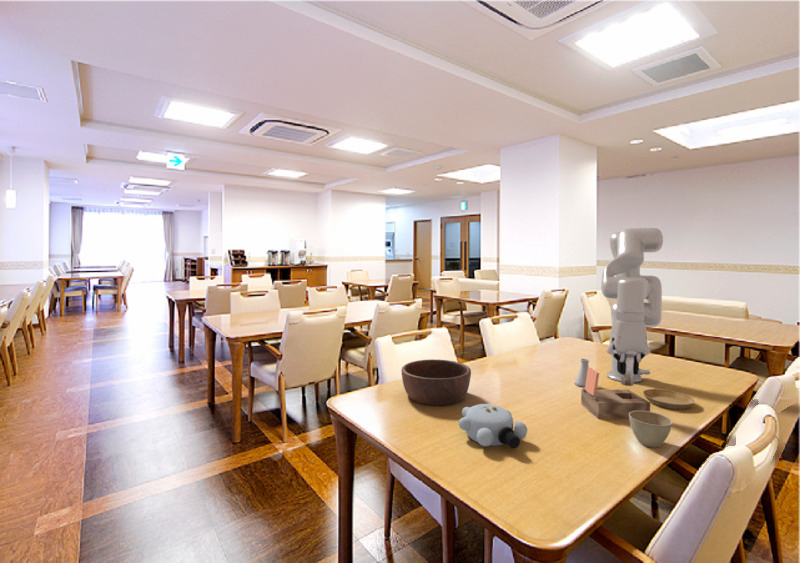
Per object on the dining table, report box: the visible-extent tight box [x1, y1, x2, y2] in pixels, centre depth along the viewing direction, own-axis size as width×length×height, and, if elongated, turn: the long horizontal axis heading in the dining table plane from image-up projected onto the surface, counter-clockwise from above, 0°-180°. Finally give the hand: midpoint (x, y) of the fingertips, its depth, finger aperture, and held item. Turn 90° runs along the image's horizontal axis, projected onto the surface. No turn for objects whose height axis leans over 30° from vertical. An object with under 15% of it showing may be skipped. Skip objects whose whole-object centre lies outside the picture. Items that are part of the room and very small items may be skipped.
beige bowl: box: [628, 411, 673, 448], centre depth 108 cm, size 10×10×7 cm
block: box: [580, 387, 651, 420], centre depth 130 cm, size 16×12×6 cm
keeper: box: [584, 367, 600, 396], centre depth 129 cm, size 8×6×1 cm
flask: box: [573, 358, 590, 388], centre depth 156 cm, size 7×7×10 cm
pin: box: [620, 351, 637, 387], centre depth 129 cm, size 5×5×12 cm
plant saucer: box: [642, 388, 696, 410], centre depth 137 cm, size 15×15×3 cm
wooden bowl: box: [400, 359, 472, 406], centre depth 144 cm, size 25×25×10 cm
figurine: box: [458, 403, 528, 450], centre depth 111 cm, size 17×8×20 cm
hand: (627, 372), depth 129 cm, fingers closed on pin, 3 cm apart
